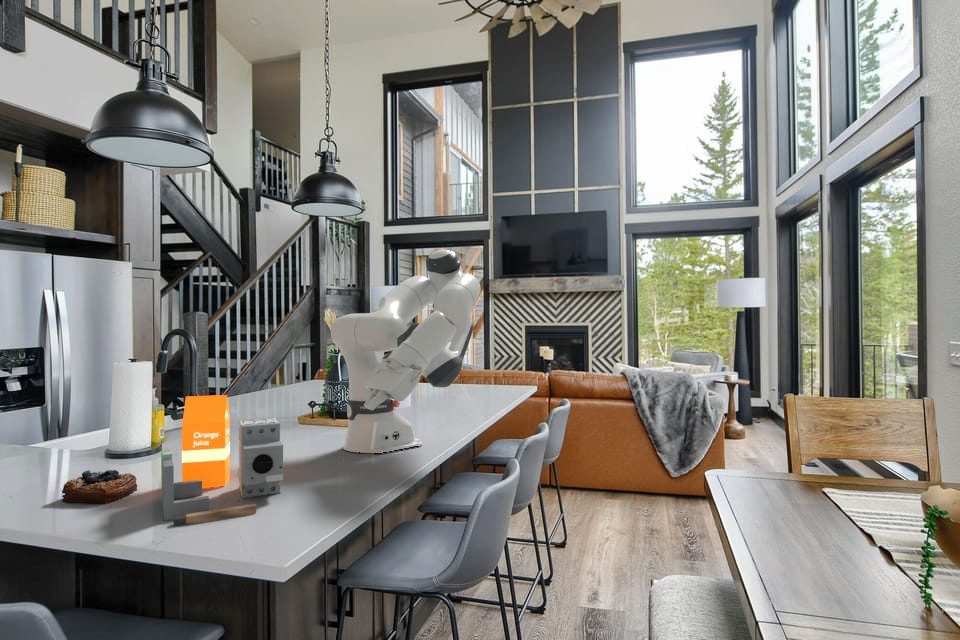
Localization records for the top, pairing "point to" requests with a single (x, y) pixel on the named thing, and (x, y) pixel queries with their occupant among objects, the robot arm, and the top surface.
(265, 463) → the circuit breaker
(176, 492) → the bay
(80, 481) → the pastry
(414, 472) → the top surface
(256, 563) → the top surface
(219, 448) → the orange juice
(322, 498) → the top surface
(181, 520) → the stylus
